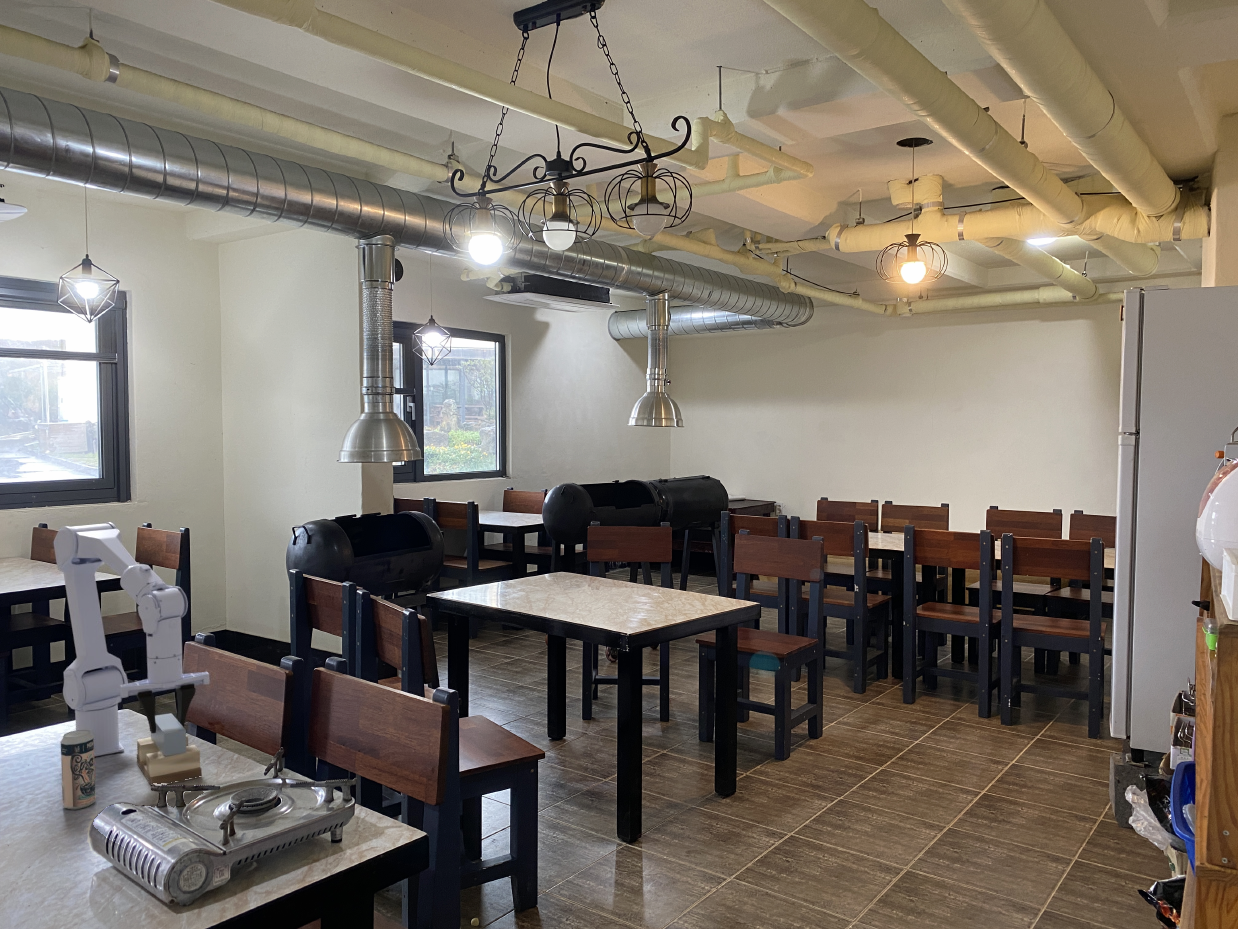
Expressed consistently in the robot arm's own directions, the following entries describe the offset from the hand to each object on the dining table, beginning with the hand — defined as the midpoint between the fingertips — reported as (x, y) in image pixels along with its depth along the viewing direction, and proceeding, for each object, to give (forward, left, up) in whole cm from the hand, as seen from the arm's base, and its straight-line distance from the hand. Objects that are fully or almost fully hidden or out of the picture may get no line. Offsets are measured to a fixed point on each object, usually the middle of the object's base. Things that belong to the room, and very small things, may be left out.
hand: (167, 729), depth 169 cm
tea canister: (+9, -15, -8) cm, 19 cm away
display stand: (0, 0, -7) cm, 7 cm away
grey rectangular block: (0, 0, -3) cm, 3 cm away
